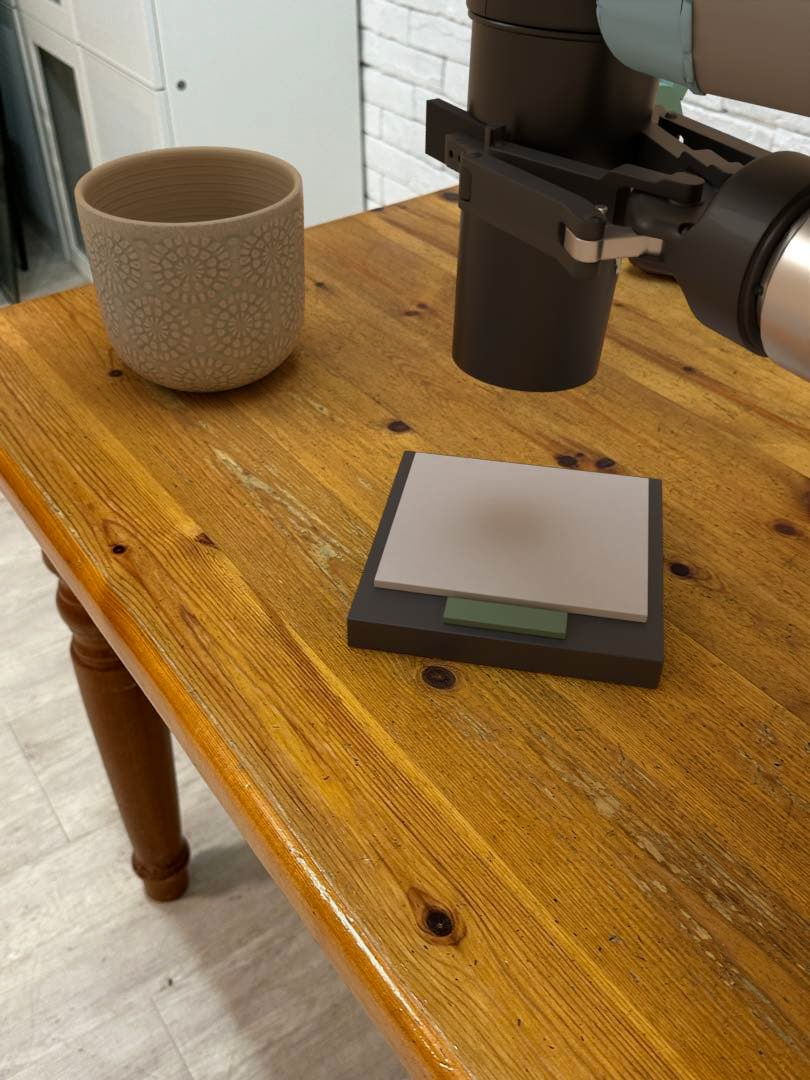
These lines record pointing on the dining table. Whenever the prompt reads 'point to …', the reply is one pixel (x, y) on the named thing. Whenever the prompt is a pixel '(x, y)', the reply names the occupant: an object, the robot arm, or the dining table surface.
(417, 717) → the dining table surface
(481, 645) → the scale
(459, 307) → the water bottle
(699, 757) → the dining table surface
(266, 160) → the planter
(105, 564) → the dining table surface
